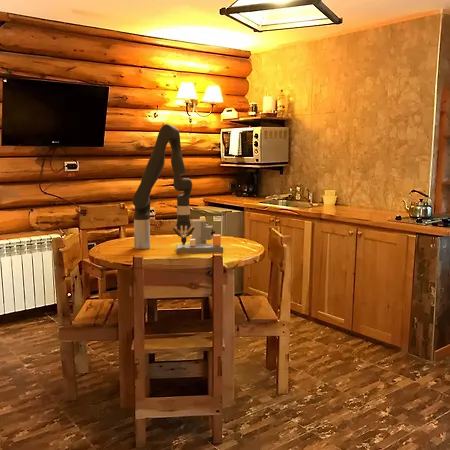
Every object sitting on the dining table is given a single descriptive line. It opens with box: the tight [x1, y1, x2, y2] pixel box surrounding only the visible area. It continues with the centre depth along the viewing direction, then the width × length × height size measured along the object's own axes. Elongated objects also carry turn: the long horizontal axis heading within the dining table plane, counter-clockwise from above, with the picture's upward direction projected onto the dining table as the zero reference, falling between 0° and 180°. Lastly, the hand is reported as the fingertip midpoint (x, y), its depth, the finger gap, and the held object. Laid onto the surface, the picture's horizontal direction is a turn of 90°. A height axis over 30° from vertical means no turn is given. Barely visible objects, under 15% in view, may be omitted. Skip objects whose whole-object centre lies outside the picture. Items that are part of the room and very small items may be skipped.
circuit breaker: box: [190, 219, 216, 244], centre depth 314 cm, size 8×14×15 cm, turn 78°
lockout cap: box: [212, 234, 222, 246], centre depth 295 cm, size 4×4×6 cm
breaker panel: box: [176, 242, 224, 254], centre depth 294 cm, size 26×12×4 cm, turn 97°
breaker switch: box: [189, 238, 195, 246], centre depth 294 cm, size 3×4×4 cm
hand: (183, 243), depth 293 cm, fingers closed
